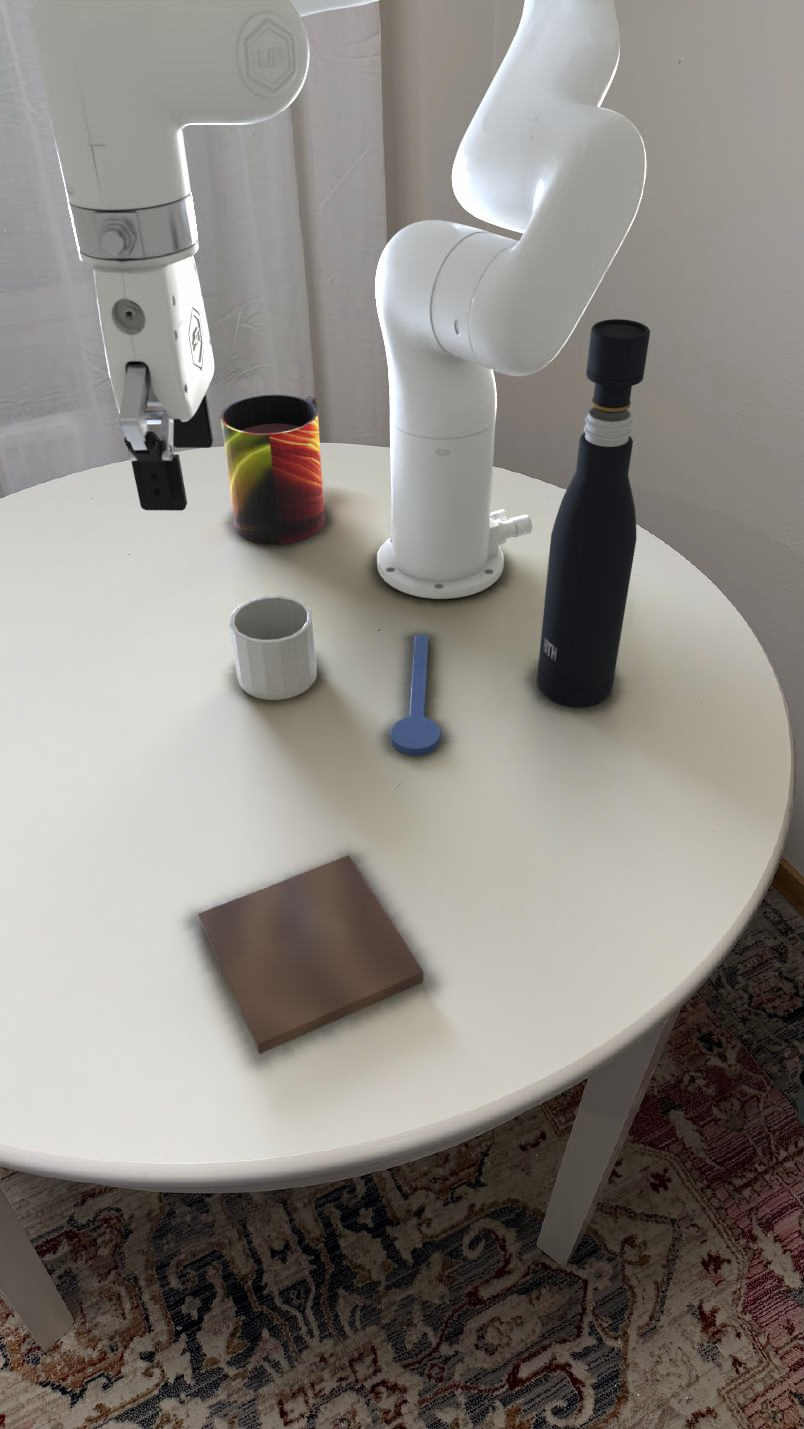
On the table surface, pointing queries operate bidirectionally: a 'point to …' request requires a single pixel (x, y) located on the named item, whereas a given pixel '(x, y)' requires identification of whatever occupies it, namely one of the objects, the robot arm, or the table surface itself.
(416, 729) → the spoon
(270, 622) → the pot
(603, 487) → the insulated water bottle
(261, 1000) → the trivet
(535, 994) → the table surface
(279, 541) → the mug
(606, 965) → the table surface
